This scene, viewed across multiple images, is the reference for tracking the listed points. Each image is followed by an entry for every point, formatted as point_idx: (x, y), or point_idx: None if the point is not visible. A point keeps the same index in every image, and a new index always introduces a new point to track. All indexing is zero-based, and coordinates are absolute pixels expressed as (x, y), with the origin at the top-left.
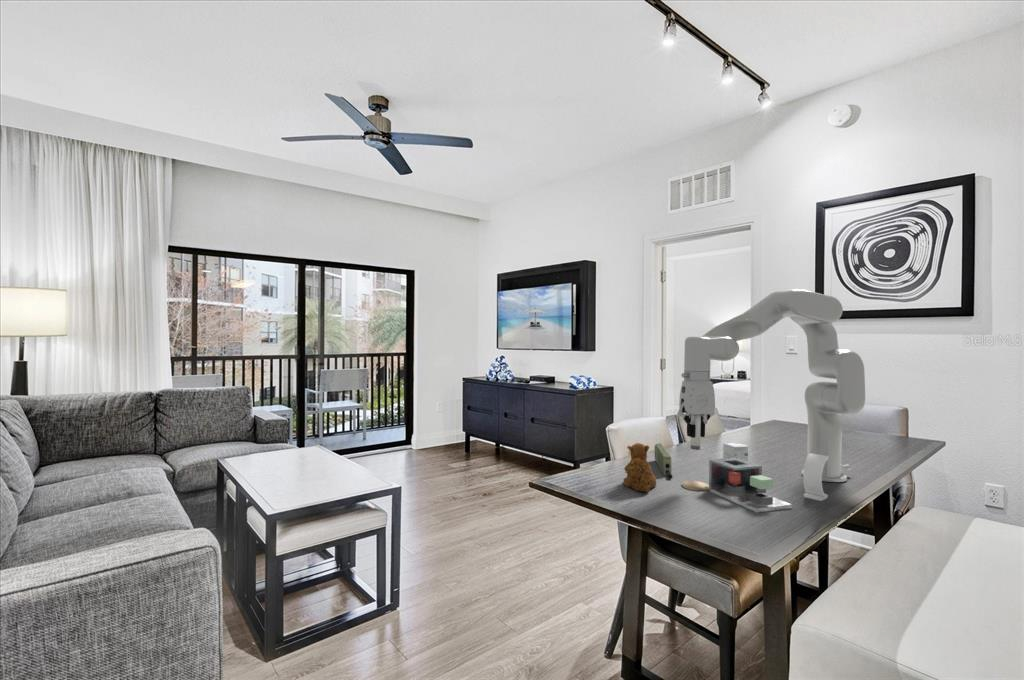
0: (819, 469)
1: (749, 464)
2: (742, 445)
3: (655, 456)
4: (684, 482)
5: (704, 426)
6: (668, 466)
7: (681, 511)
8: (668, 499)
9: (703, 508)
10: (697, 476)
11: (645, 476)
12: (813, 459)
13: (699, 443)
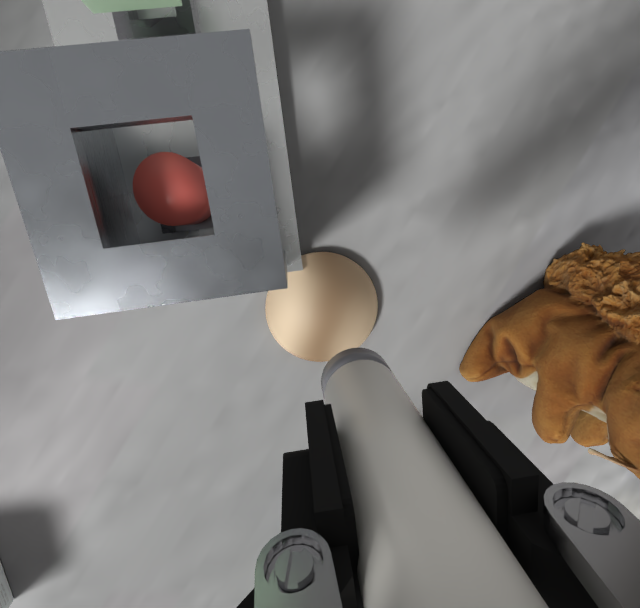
0: None
1: (56, 115)
2: None
3: None
4: (352, 344)
5: (320, 483)
6: None
7: (560, 18)
8: (522, 172)
9: (452, 33)
10: (235, 434)
11: (629, 263)
12: None
13: (351, 371)
